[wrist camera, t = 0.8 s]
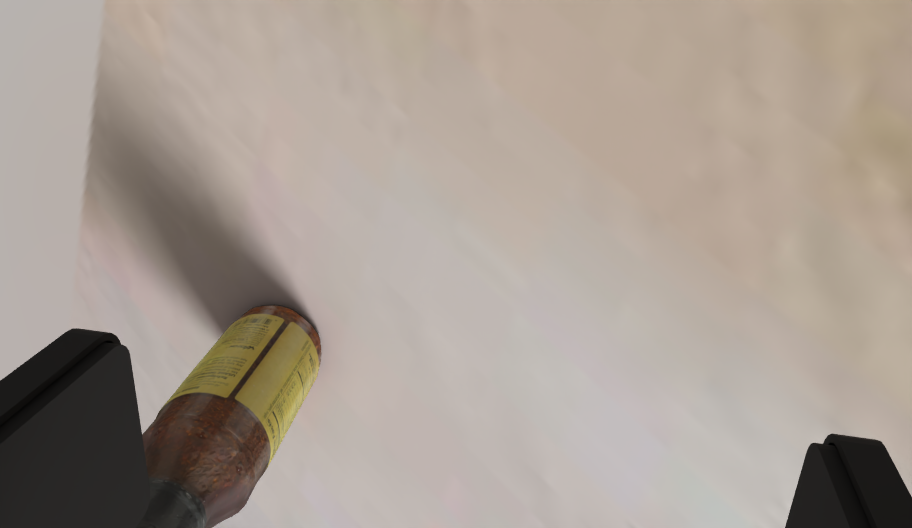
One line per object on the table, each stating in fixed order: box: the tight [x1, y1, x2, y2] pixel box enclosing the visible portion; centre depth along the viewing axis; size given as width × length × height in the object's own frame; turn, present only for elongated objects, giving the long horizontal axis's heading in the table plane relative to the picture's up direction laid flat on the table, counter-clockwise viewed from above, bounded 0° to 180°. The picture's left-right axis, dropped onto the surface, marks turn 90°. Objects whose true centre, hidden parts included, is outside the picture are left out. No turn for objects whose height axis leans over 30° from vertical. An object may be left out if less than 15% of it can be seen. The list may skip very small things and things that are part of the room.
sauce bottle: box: [136, 305, 321, 528], centre depth 40 cm, size 6×6×20 cm
